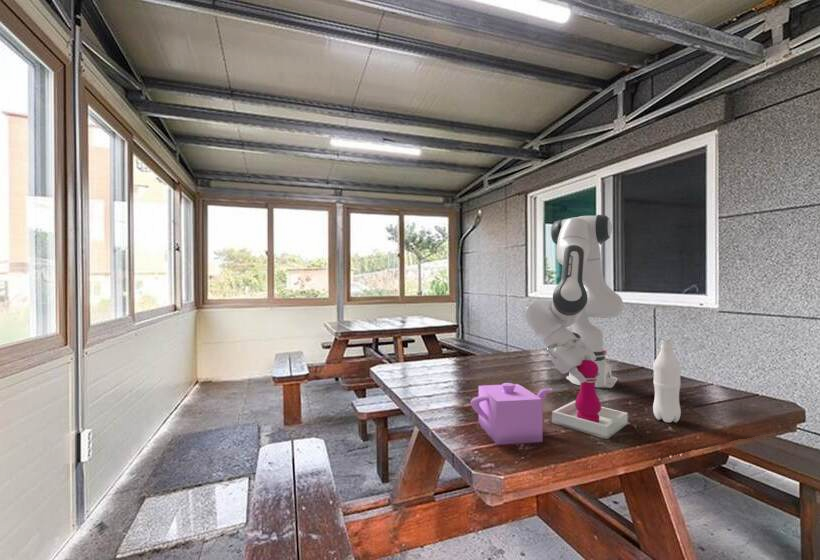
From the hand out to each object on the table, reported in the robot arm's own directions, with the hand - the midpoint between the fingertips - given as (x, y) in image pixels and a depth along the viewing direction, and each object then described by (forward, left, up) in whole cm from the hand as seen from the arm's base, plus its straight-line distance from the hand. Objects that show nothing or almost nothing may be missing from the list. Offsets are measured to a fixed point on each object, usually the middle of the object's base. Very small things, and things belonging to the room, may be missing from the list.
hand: (591, 378), depth 115 cm
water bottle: (-21, +14, -14) cm, 29 cm away
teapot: (+23, -13, -14) cm, 30 cm away
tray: (0, -1, -14) cm, 14 cm away
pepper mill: (0, -1, -13) cm, 13 cm away
